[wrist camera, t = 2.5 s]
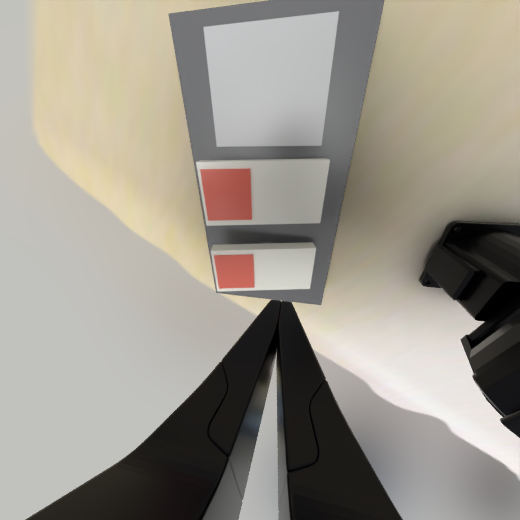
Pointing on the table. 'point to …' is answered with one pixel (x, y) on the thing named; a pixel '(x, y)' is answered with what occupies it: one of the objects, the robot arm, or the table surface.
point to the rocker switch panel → (278, 103)
